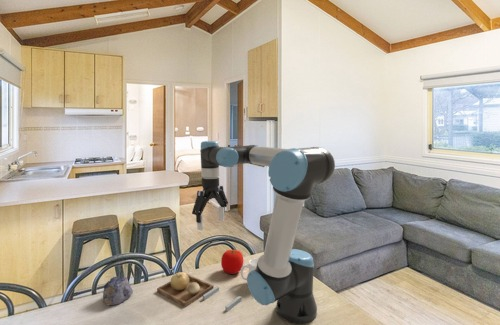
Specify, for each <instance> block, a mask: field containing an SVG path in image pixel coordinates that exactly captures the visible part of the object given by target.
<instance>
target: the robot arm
mask: <svg viewBox="0 0 500 325" xmlns="http://www.w3.org/2000/svg"><path fill="white" fill-rule="evenodd" d="M199 152H200V169H201V170H200V171H201V172H200V173H201V174H200V175H201V188H202V190H197V192H196V198H195V201H194V205H193V208H192V212H191V214H192V215H195V217H196V219H195V221H196V227H197V231H198V230H199V231H204V215H203V212H204V210H205V208H206V206H207V204H208V202H209V201H210V200H212V199H215V201H216V202H217V204H218V205H219V206H218V221H219V222H225V220H226V219H225V213H226V208H227V207H228V204H229V201H228V199H227V196H226V194H225V191H224V186H223V185H220V177H219V176H220V167H224V168H231V167H234V166H235V165H236V166H237V165H242V164H243V165H246V164H250V165H257V166H262V167H263V166H264V167H267V168H268V177H270V179H269V181H270V184H271V185H272V191H273V192H274V193H275V194H276V196H275V201H274V204H273V210H272V214H271V218H270V223H269V228H268V232H267V237H266V243H265V247H264V251H263V254H262V255H260V256H259V257H258V258H259V259H258V262H257V266H256V269H255V270H252V271H251V272H249V271H248V274H247V276H246V277H247V280H246V284H247V287H248V289H249V292H250V294H251V296H252V298H253V299H254V300H255V301H256V302H257V303H258V304H260V305H262V306H268V305H270V304H274V303H276V313H277V315H278V316H279V317H280V318H281V319H283V320H284V321H286V322H289V323H291V324H292V323H293V324H307V323H310V322H312V321H314V320H315V319H316V317H317V314H318V306H317V302H316V300H315V297H314V296H315V295H314V293H313V292H314V290H313V289H314V269H315V268H314V267H315V265H314V257H313V256H312V254H311V253H309V252H307V251H305V250H301V249H297V248H293V247H294V244H295V243H294V242H295V239H296V234H297V230H298V226H299V222H300V218H301V215H302V210H303V207H304V203H305V201H308V200H309V199H310V198H311V196H312V193H313V192H312V191H313V188H314V186H315V185H319V184H323V183H325V182H327V181H328V180H329V179H330V178H331V177H332V176H333V174H334V173H335V168H336V164H335V163H336V162H335V158H334V156H333V155H332V154H331V152H330V151H328V150H327V149H325V148H324V147H319V146H312V147H311V146H310V147H302V148H301V147H299V148H295V147H294V148H280V147H279V148H278V147H269V146H267V147H266V146H259V145H257V144H256V145H255V144H250V145H240V146H239V145H235V146H219V142H218V141H217V140H205V141H201V142H200V150H199Z"/></svg>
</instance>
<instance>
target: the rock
mask: <svg viewBox="0 0 500 325" xmlns="http://www.w3.org/2000/svg"><path fill="white" fill-rule="evenodd" d="M133 291H134V290H133V288H132V286H131V284H130V282H129V280H128V277H126V276H125V277H123V276H114V277H111V278H110V280H109V281H107V282H106V283H105V284H103V291H102V292H103V293H102V299H103V303H104V304H106V305H108V306H113V305H114V306H115V305H120V304H122V303H123V302H124V301H126V300H129V299H130V298H131V297H132V295H133Z"/></svg>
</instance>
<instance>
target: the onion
mask: <svg viewBox="0 0 500 325" xmlns="http://www.w3.org/2000/svg"><path fill="white" fill-rule="evenodd" d="M187 274H188V273H186V272H183V271H181V272H179V271H178V272H175V274H173V275H172V277H171V278H170V280H169V282H170V283H171V286H172V288H173V289H175V290H182V289H184V288H186V287H187V286H188V284H189V277H188V275H189V274H188V275H187Z"/></svg>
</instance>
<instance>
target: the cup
mask: <svg viewBox="0 0 500 325" xmlns="http://www.w3.org/2000/svg"><path fill="white" fill-rule="evenodd" d="M258 259H259V257H254V258H251V259H250V260H248V264H243V266H242V268H241V270H240V277H241V278H242V279H243V280H244V281H247V276H245V275H244V269H245V268H248V273H249V272H251V271H252V270H255V269H256V266H257V262H258Z"/></svg>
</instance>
